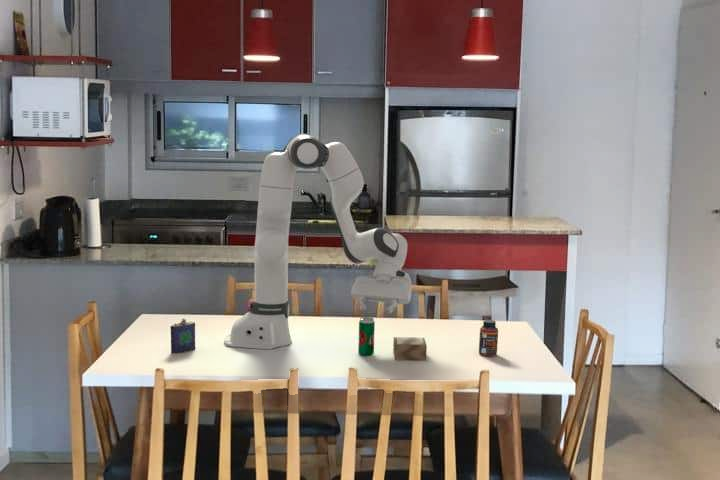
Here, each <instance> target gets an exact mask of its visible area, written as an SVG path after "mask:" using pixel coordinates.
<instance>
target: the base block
mask: <svg viewBox="0 0 720 480" xmlns="http://www.w3.org/2000/svg"><path fill="white" fill-rule="evenodd" d="M427 351H428V350H427V343H426V339H425V337H418V336H415V337H412V336H409V337H407V336H394V337H393V346H392V354H393V359H394V361H413V362H414V361H419V362H420V361H421V362H426V361H427Z"/></svg>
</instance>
